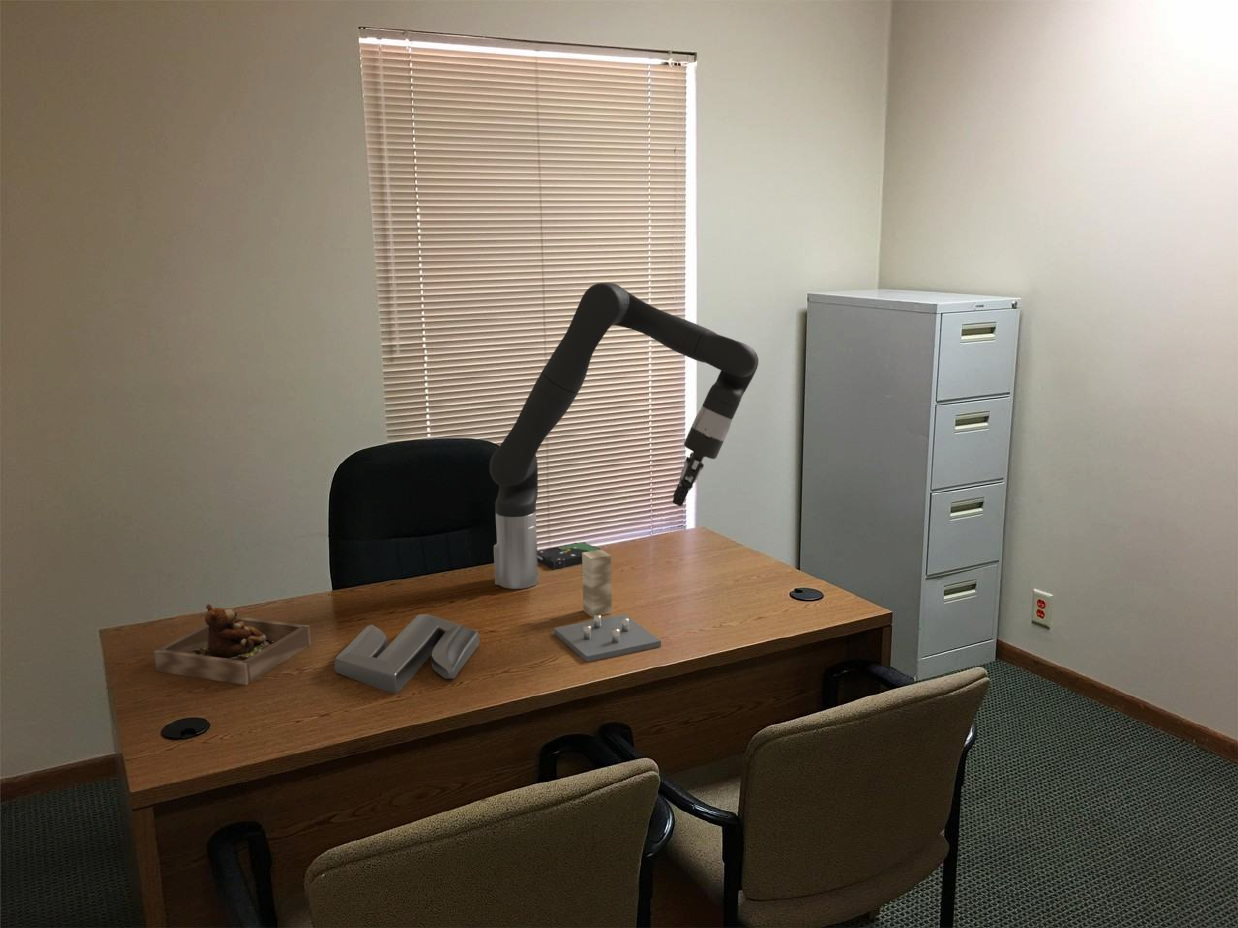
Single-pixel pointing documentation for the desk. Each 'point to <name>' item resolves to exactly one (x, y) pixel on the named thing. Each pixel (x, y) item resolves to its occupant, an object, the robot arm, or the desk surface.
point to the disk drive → (564, 555)
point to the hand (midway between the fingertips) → (677, 501)
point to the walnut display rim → (184, 662)
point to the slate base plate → (606, 637)
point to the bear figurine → (230, 636)
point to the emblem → (407, 652)
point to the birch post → (597, 582)
